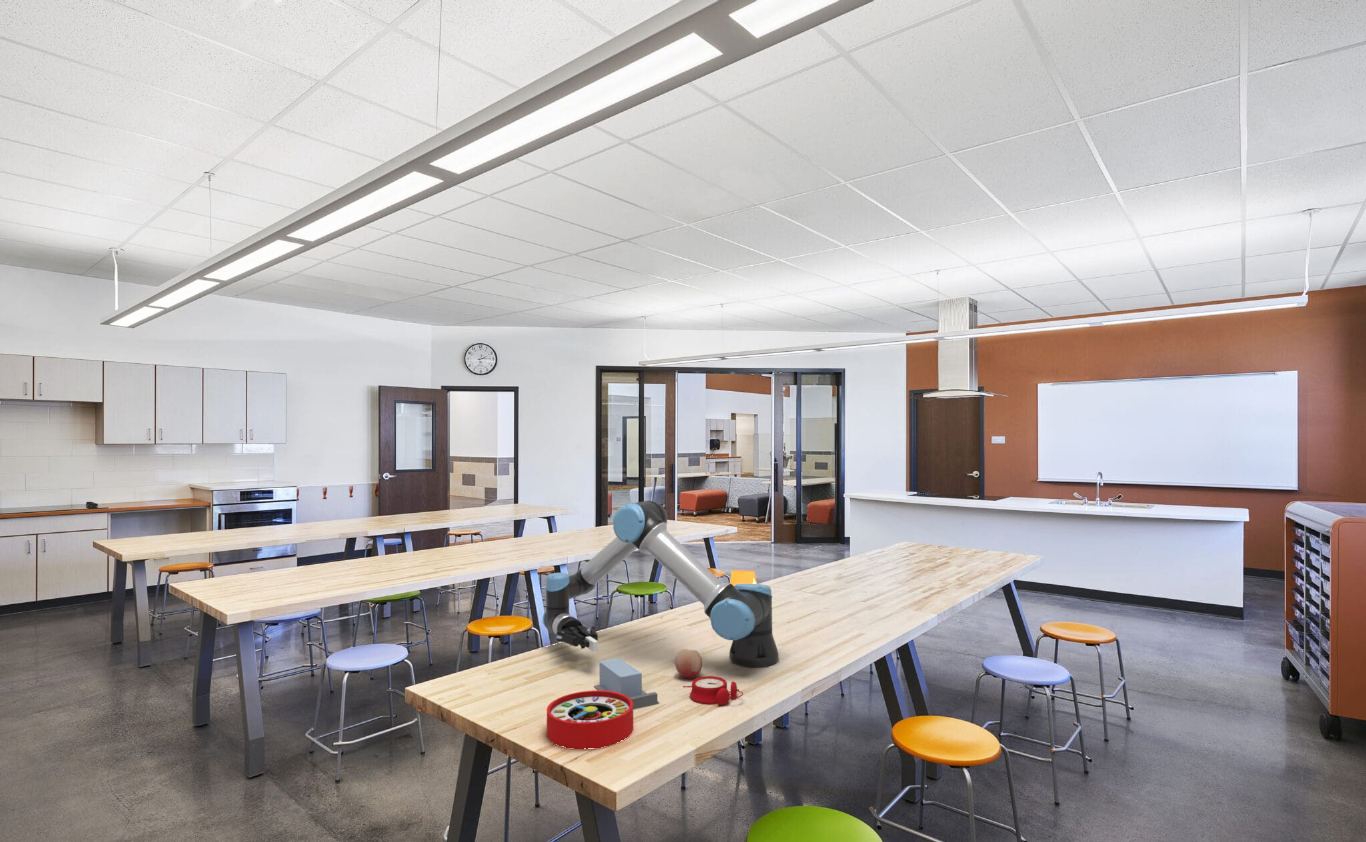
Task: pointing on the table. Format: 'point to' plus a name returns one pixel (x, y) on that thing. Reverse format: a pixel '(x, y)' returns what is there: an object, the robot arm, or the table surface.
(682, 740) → the table surface
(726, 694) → the alarm clock
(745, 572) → the orange juice
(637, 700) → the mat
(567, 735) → the toy clock
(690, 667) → the fruit
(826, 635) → the table surface
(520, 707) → the table surface
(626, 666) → the blue-grey rectangular block
